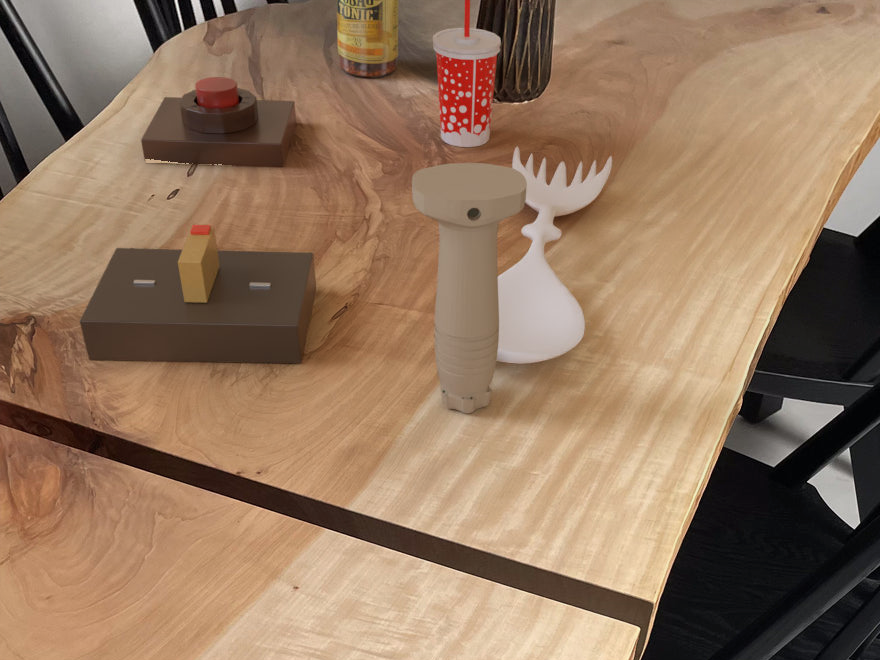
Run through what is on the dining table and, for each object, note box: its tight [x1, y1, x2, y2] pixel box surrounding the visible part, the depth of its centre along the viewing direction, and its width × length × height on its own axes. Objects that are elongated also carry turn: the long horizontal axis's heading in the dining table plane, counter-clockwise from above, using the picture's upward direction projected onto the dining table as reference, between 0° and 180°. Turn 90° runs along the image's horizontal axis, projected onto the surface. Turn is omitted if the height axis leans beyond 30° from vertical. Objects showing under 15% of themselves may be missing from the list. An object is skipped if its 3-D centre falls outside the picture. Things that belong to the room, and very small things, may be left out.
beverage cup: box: [432, 0, 502, 148], centre depth 99 cm, size 6×6×14 cm
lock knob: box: [178, 224, 219, 303], centre depth 74 cm, size 5×2×3 cm, turn 2°
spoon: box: [496, 145, 613, 364], centre depth 84 cm, size 9×32×4 cm, turn 172°
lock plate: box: [79, 247, 317, 364], centre depth 76 cm, size 14×10×3 cm
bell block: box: [140, 87, 297, 168], centre depth 99 cm, size 12×10×4 cm
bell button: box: [194, 76, 239, 109], centre depth 97 cm, size 4×4×2 cm
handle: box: [411, 162, 527, 414], centre depth 66 cm, size 5×6×15 cm
